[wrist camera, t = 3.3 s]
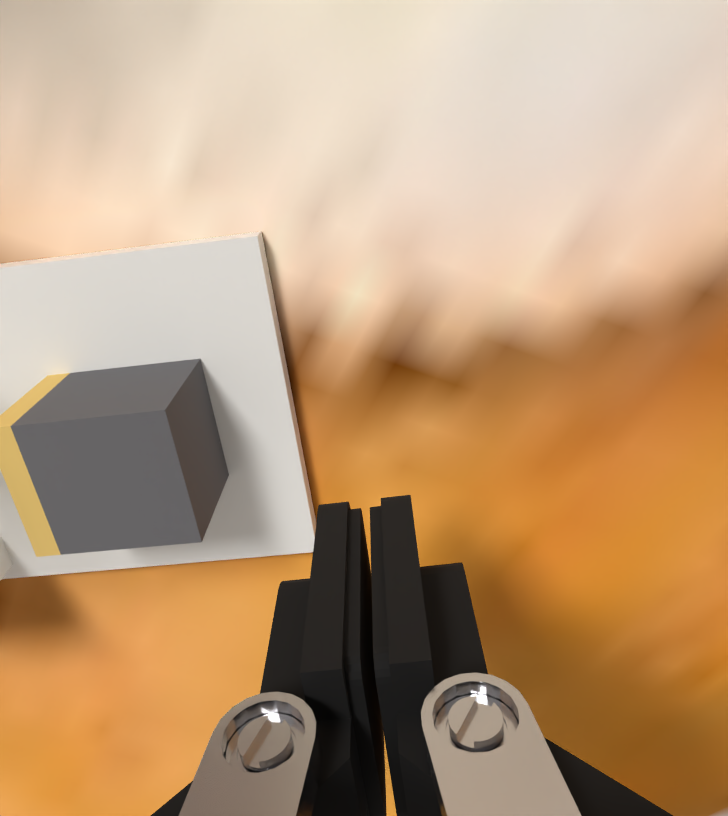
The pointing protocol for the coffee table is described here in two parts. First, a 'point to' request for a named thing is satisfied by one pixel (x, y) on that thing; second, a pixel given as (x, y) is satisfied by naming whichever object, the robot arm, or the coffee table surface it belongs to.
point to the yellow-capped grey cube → (114, 458)
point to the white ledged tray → (158, 343)
